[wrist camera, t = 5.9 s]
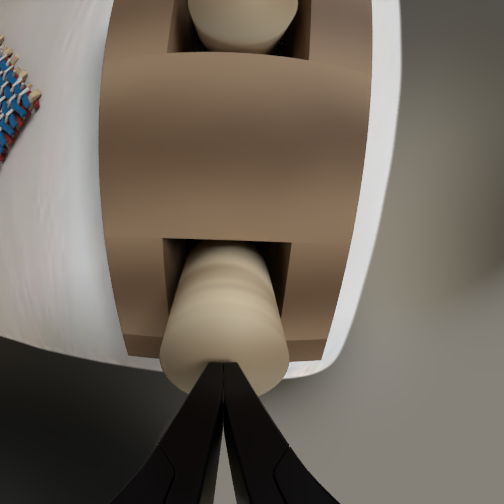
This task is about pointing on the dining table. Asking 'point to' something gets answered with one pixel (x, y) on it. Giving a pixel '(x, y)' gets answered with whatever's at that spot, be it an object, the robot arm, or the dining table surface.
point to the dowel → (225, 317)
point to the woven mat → (13, 98)
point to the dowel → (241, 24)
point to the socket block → (232, 159)
